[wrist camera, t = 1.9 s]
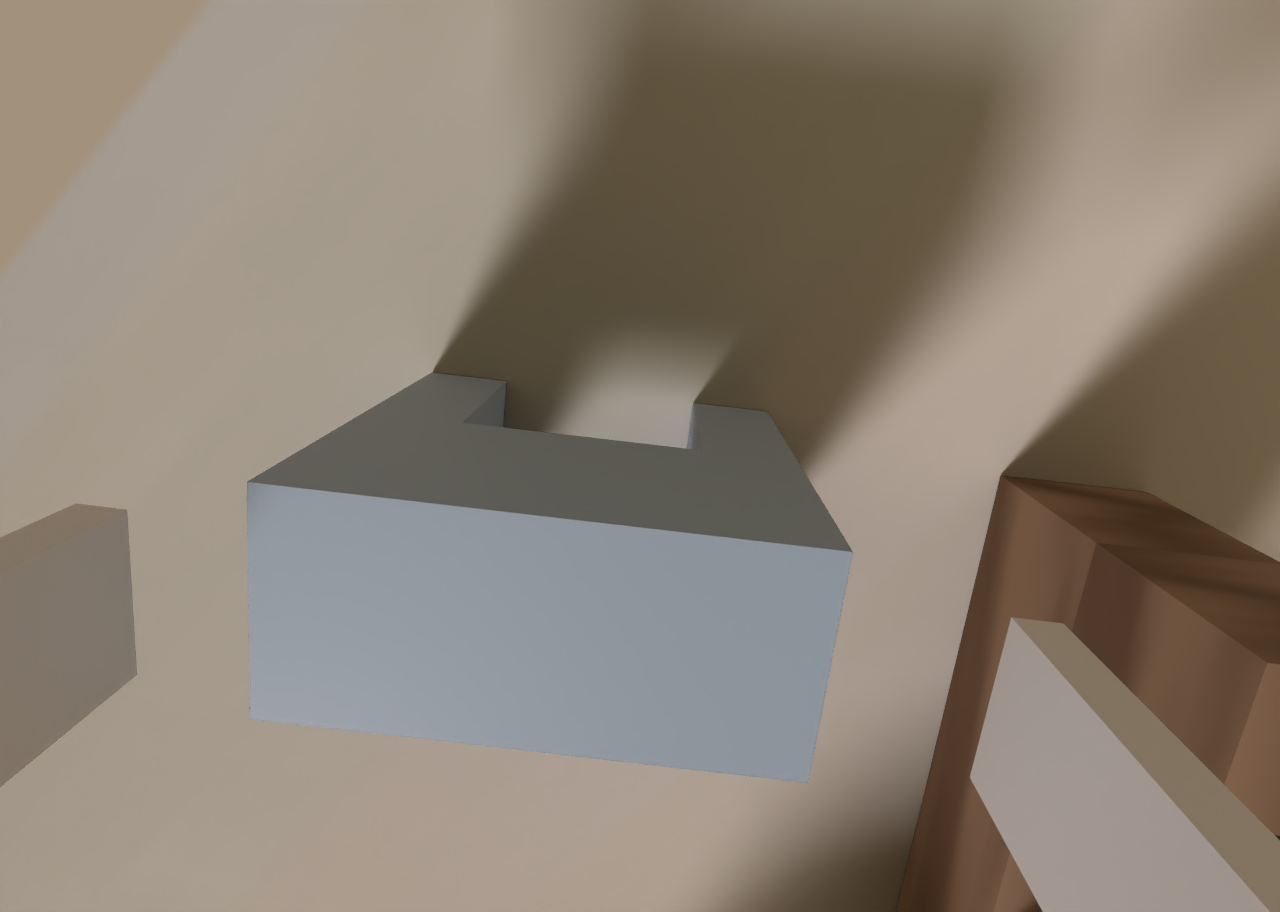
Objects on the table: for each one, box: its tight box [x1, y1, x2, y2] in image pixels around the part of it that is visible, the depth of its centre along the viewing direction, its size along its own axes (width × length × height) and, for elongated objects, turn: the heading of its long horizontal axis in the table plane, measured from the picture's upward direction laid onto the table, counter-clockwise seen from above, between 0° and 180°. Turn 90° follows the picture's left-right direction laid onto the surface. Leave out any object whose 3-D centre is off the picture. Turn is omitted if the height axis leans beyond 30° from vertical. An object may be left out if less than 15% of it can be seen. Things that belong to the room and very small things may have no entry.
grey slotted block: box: [247, 373, 853, 783], centre depth 17 cm, size 9×4×10 cm, turn 84°
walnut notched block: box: [896, 476, 1280, 912], centre depth 19 cm, size 4×16×10 cm, turn 174°
